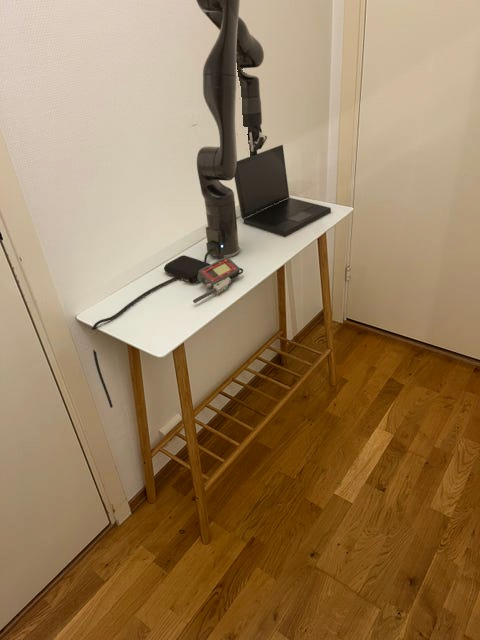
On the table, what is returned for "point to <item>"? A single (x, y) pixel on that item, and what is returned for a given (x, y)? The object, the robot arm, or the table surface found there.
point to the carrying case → (185, 268)
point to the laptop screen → (261, 181)
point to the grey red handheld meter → (218, 276)
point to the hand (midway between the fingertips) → (253, 160)
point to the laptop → (287, 216)
